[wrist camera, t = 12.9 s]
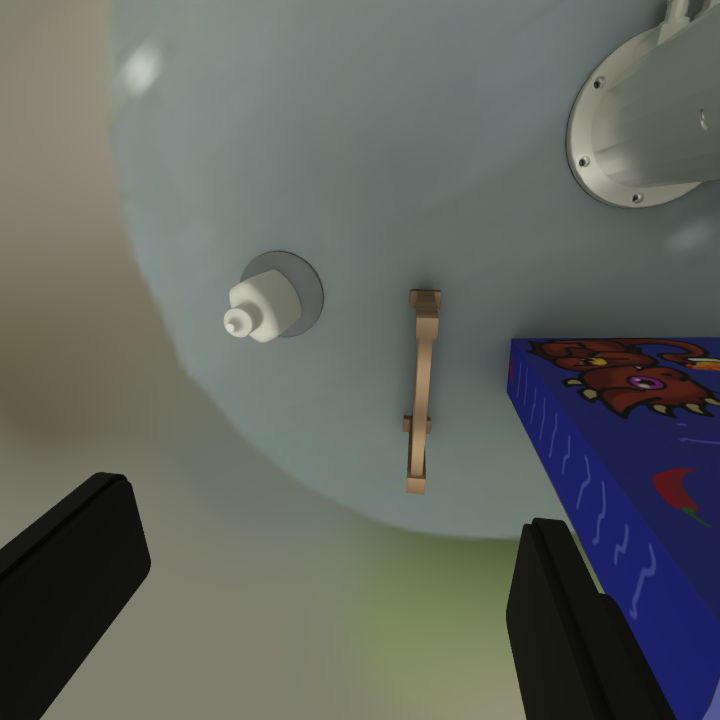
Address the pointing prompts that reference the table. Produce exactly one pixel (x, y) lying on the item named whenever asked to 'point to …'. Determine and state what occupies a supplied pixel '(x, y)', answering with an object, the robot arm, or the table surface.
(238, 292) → the eye dropper bottle
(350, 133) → the table surface
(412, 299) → the brown piece
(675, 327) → the table surface
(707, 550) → the cereal box
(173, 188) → the table surface
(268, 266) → the coaster
